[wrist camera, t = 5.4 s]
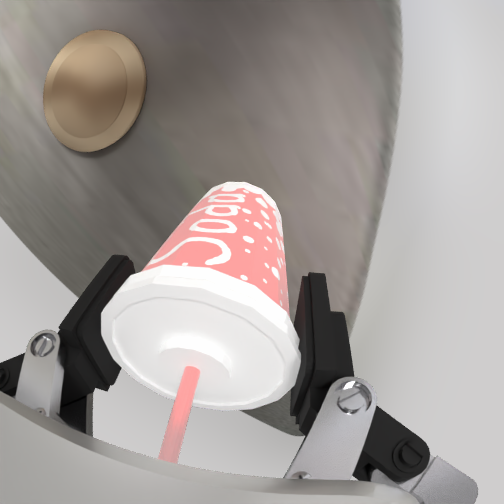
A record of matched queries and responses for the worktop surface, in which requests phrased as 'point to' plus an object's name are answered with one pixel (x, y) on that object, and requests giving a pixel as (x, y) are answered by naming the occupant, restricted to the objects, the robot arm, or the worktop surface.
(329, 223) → the worktop surface
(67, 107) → the plate
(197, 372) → the beverage cup
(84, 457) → the robot arm
